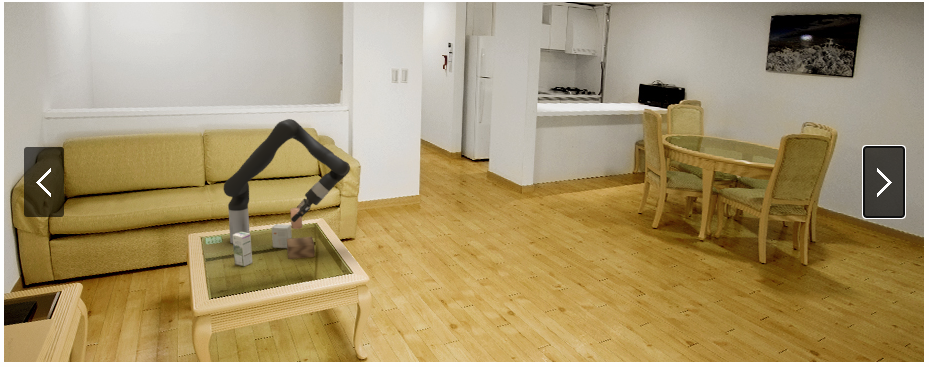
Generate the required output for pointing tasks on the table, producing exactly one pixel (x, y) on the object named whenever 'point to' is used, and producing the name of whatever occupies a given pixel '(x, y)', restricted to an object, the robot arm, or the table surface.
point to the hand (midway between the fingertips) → (292, 219)
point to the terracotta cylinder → (298, 222)
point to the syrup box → (242, 248)
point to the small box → (281, 235)
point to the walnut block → (300, 247)
